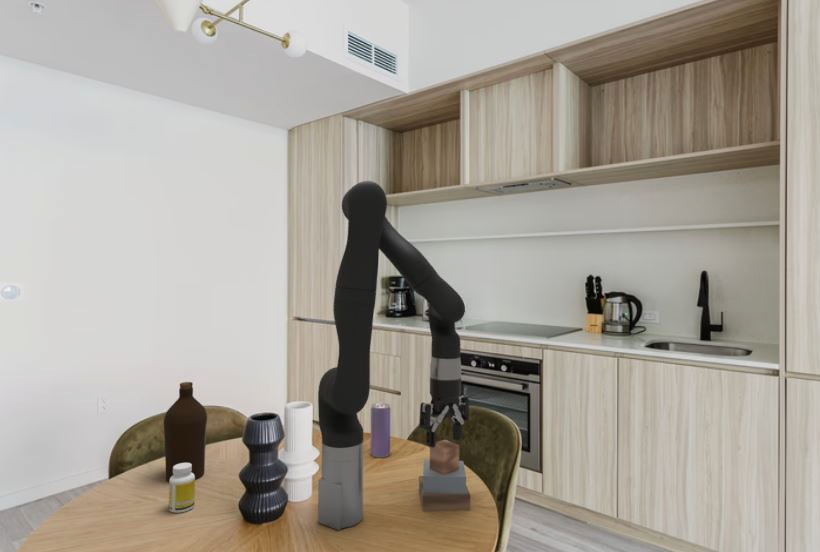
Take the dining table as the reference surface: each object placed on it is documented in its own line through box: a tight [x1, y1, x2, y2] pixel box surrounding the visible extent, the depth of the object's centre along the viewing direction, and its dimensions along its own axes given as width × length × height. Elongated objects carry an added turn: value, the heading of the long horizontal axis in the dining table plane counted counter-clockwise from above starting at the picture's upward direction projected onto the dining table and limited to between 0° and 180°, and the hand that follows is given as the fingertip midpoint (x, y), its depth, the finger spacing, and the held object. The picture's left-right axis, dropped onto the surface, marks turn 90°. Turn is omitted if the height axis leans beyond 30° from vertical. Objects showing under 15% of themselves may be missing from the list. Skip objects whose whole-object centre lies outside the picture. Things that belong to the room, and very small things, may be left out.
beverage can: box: [370, 402, 391, 459], centre depth 147 cm, size 6×6×15 cm
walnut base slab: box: [418, 475, 471, 512], centre depth 117 cm, size 11×11×4 cm
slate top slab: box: [422, 459, 467, 494], centre depth 117 cm, size 10×10×4 cm
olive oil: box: [163, 381, 208, 482], centre depth 130 cm, size 11×11×25 cm
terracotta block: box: [429, 439, 460, 475], centre depth 117 cm, size 5×5×6 cm
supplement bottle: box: [168, 463, 196, 514], centre depth 112 cm, size 5×5×10 cm
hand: (444, 442), depth 116 cm, fingers open, 8 cm apart
